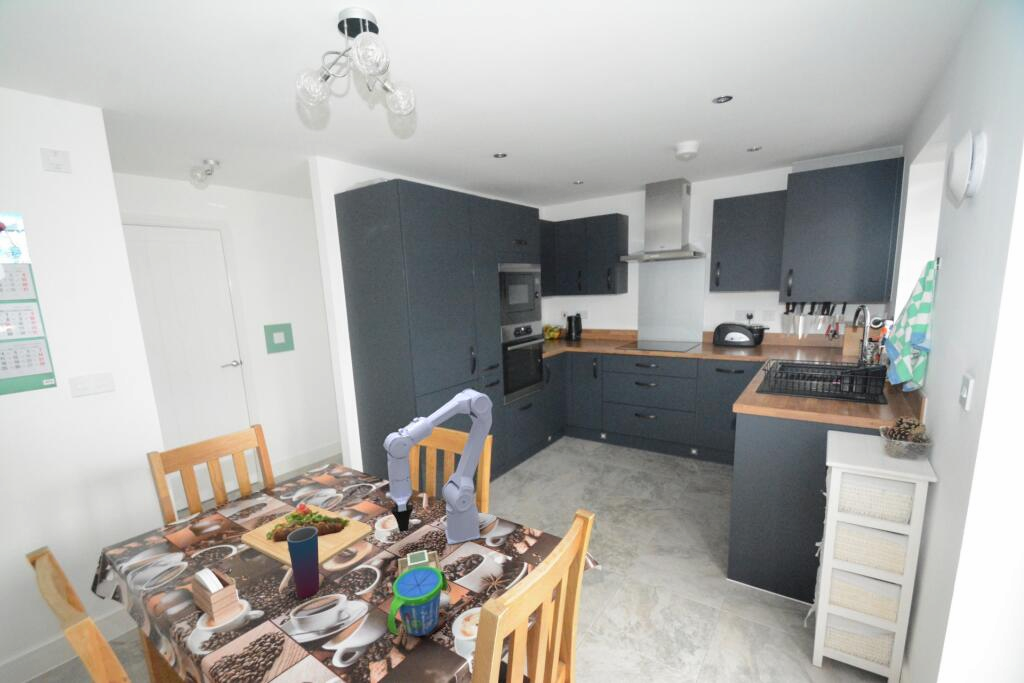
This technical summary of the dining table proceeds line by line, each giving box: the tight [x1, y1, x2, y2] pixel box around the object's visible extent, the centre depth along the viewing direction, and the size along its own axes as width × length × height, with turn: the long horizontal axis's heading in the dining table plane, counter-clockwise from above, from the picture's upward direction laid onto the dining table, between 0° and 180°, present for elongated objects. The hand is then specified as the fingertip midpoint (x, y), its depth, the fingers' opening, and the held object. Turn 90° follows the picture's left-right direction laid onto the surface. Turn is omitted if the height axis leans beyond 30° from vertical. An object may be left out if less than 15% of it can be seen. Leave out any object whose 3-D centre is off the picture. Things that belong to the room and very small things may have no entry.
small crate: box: [406, 549, 429, 570], centre depth 106 cm, size 5×5×5 cm
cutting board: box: [240, 503, 373, 569], centre depth 128 cm, size 35×23×8 cm
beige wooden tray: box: [397, 550, 442, 577], centre depth 106 cm, size 10×10×3 cm
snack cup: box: [387, 566, 449, 637], centre depth 90 cm, size 16×10×10 cm
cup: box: [287, 527, 320, 599], centre depth 103 cm, size 7×7×15 cm
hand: (403, 523), depth 115 cm, fingers open, 7 cm apart
